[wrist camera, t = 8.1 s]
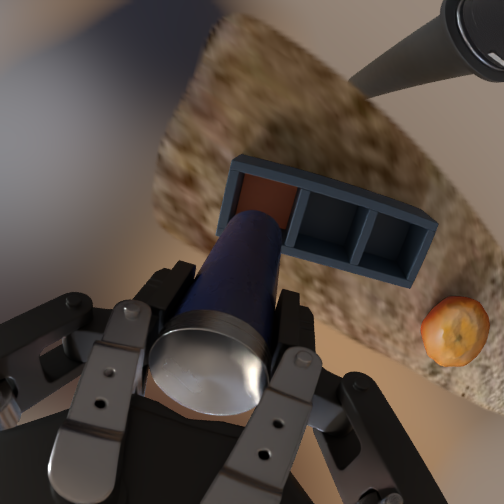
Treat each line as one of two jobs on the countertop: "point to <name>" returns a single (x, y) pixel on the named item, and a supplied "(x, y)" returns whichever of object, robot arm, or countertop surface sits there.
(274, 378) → the robot arm
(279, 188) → the rack
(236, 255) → the thermos
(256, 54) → the countertop surface
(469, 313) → the fruit
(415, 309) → the countertop surface
